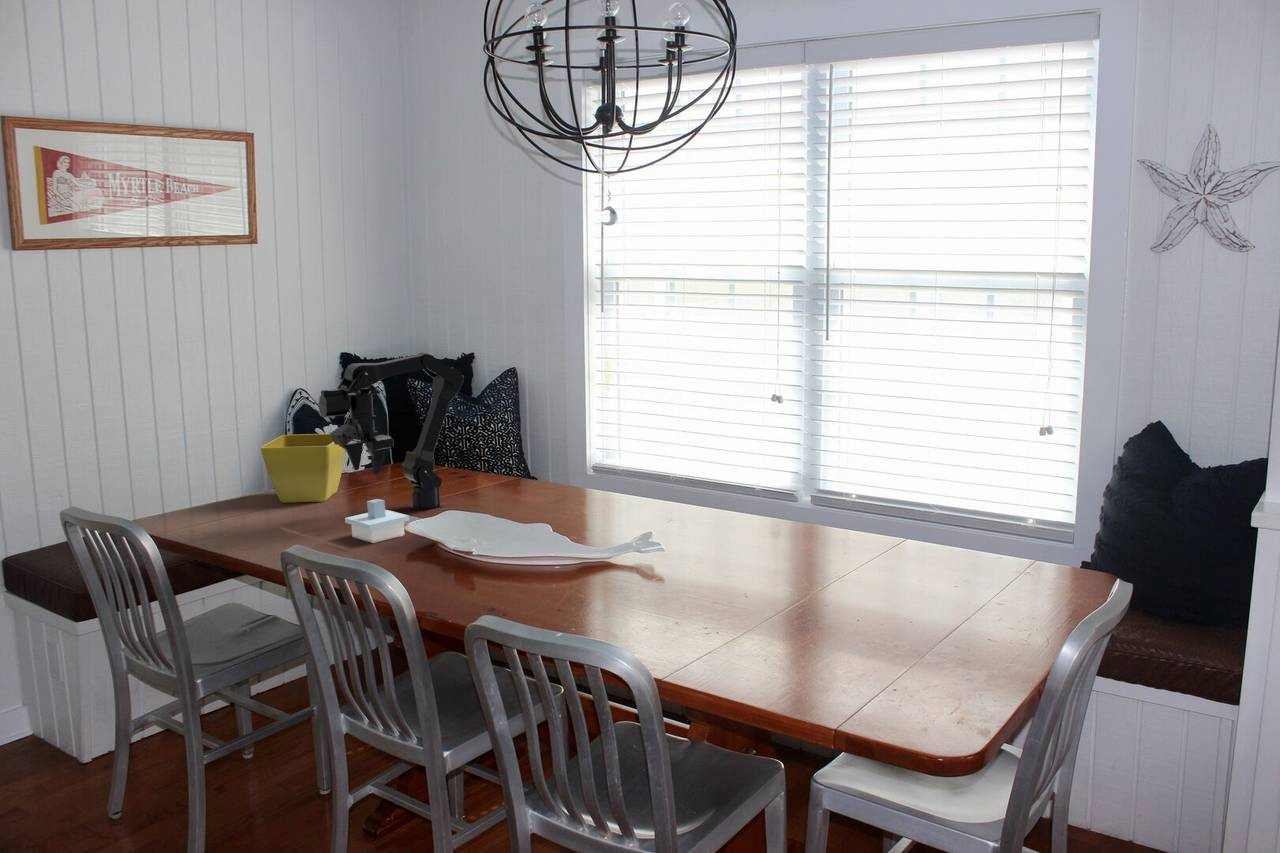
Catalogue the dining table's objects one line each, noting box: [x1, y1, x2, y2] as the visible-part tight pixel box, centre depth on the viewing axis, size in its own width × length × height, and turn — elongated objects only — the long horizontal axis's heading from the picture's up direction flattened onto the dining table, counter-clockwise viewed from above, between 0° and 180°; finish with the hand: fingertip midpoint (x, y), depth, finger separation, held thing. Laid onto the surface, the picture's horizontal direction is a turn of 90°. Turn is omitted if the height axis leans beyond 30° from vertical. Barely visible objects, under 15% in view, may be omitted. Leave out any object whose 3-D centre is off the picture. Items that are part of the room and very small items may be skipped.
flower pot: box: [260, 433, 346, 503], centre depth 311 cm, size 19×19×17 cm
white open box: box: [350, 522, 405, 544], centre depth 266 cm, size 9×9×4 cm
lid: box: [344, 498, 410, 530], centre depth 265 cm, size 11×11×5 cm
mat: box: [396, 511, 422, 526], centre depth 280 cm, size 13×13×1 cm
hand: (366, 472), depth 283 cm, fingers open, 9 cm apart
